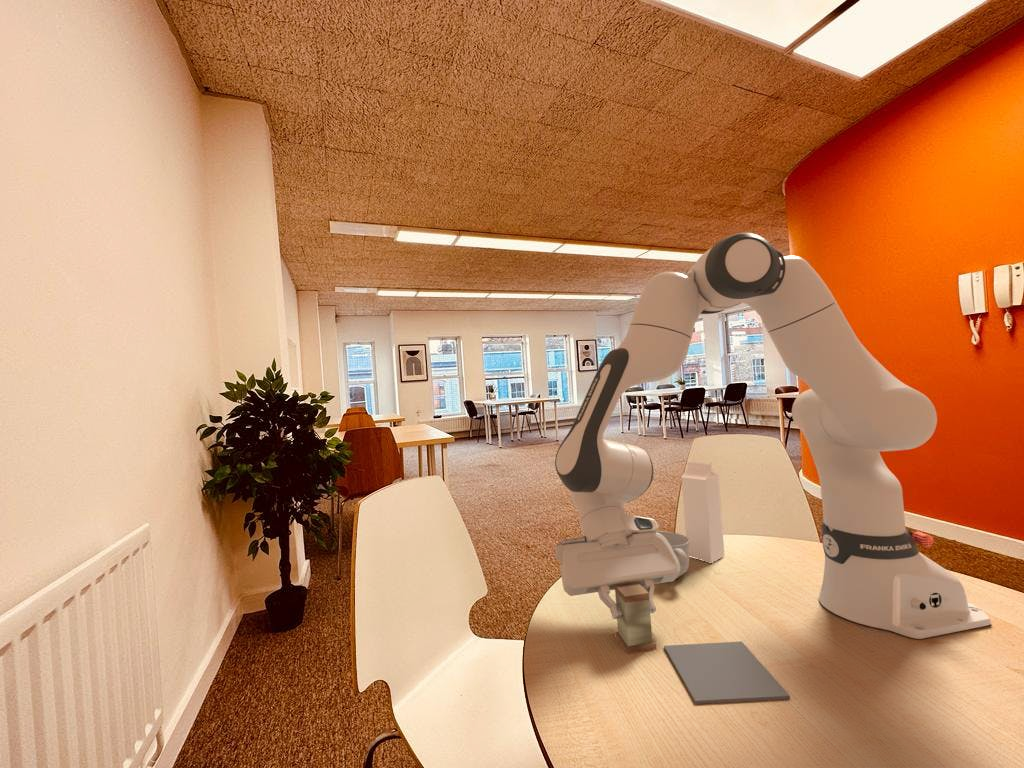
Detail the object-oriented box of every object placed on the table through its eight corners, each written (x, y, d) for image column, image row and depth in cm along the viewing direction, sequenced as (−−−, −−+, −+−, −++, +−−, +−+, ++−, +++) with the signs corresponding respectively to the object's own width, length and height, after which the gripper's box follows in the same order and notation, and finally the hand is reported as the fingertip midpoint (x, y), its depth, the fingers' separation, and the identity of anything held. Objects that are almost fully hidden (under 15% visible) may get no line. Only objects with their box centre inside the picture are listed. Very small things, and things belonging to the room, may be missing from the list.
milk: (711, 564, 97) (704, 466, 97) (686, 557, 102) (679, 463, 102) (725, 556, 100) (718, 462, 101) (700, 550, 105) (693, 459, 106)
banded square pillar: (642, 632, 72) (638, 580, 72) (656, 648, 67) (652, 593, 68) (615, 636, 71) (611, 584, 72) (627, 653, 67) (623, 597, 67)
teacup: (633, 564, 99) (631, 529, 99) (681, 562, 99) (679, 527, 99) (651, 593, 85) (648, 552, 86) (706, 590, 85) (703, 549, 85)
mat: (741, 644, 67) (741, 641, 67) (790, 698, 55) (789, 695, 55) (664, 648, 67) (664, 645, 67) (695, 703, 55) (695, 700, 55)
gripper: (554, 532, 75) (575, 617, 65) (664, 518, 78) (699, 598, 68) (549, 548, 79) (568, 631, 69) (654, 535, 82) (686, 612, 73)
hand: (634, 614), depth 69 cm, fingers closed on banded square pillar, 4 cm apart
